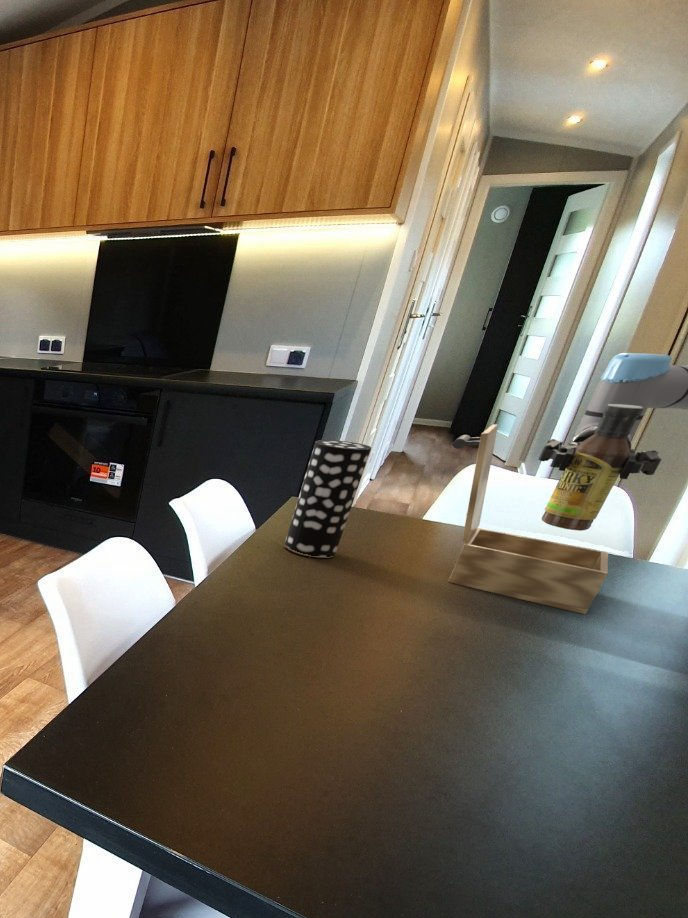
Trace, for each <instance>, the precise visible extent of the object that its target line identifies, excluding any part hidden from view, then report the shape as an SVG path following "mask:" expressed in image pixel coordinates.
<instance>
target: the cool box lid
mask: <svg viewBox="0 0 688 918" xmlns="http://www.w3.org/2000/svg"><path fill="white" fill-rule="evenodd" d="M498 428H499V424H497V423H496V424H494V423H493V424H491V425H490V426H489V427H487V428H486V429H485V430H484V431H483V432H481V433H480V436H475V437H471V436H470V435H468V434H463V435H460V436H459V437H457V438H456V439H455V440H454V441H453V442H452V447H453V448H454V449H458V450H459V449H463V448H464V447H467V446H468V447H471V446H472V447H475V446H476V447H478V450H477V456H476V460H475V467H474V472H473V478H472V483H471V484H472V485H471V490H470V494H469V500H468V505H467V510H466V517H465V522H464V527H463V528H464V529H463V534H462V538H461V541H462V542H463V543H464V542H468V541H469V540H470V538H471V537H472V535H473V534H474V532H475V531H476V529H477V528H479V526H480V523H481V519H482V513H483V508H484V503H485V498H486V492H487V486H488V481H489V476H490V470H491V464H492V461H493V460H492V459H493V455H494V449H495V442H496V437H497V433H498Z"/></svg>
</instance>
